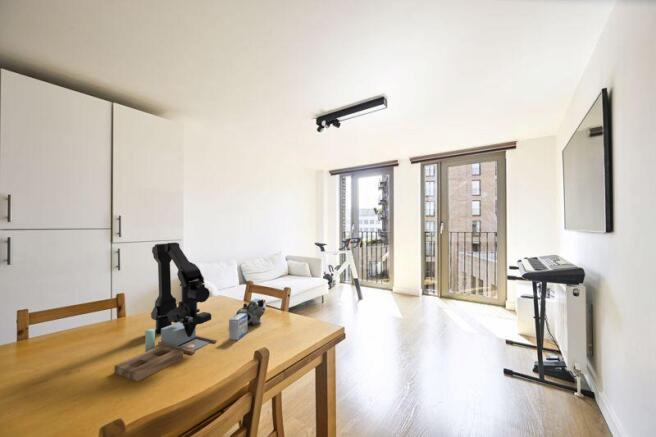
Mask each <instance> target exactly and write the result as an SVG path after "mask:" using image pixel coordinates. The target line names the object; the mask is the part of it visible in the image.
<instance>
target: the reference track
mask: <svg viewBox="0 0 656 437" xmlns="http://www.w3.org/2000/svg"><path fill="white" fill-rule="evenodd" d="M210 343H214V344H216V343H217V339H215V338H210V337H206V336H202V335H197V334H196V337H195V338H194V339H192V340H189V341H187V342H185V343H183V344H181V345H178V346H175V345H171V344H167V343H163V342H161V341H158V342H157V346H161V345H163V346H166V347H170V348H173V349H177V350H181V351H183V353H186V354H190V355H195V354H196V351H198V350H199V349H201V348H203V347H205V346H207V345H209V344H210Z"/></svg>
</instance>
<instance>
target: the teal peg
mask: <svg viewBox="0 0 656 437" xmlns="http://www.w3.org/2000/svg"><path fill="white" fill-rule="evenodd" d="M155 329H156V328H148V329H146V330H145V333H144V334H145V337H144V338H145V339H144V340H145V341H144V342H145V343H144V345H145V346H144V347H145V349H144V351H145V352H147V351H149V350H151V349H154V348H156V332H155Z"/></svg>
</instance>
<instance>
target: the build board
mask: <svg viewBox="0 0 656 437" xmlns="http://www.w3.org/2000/svg"><path fill="white" fill-rule="evenodd" d="M182 359H184V352H183V351H181V350H177V349H173V348H170V347H166V346H163V345H161V346H160V345H157V346H155V348H154V349H151V350H149V351H147V352H143V353H140V354H138V355H136V356H133V357H130V358H129V359H126V360H124V361H121V362H119V363H117V364H115V365H114V369H113V370H114V374H116V375H119V376H121V377H124V378H127V379H129V380H132V381H134V382H140V381H142V380H144V379H145V378H147V377H148V376H151V375H153V374H154V373H156V372H158V371H160V370H163V369H164V368H167V367H169V366H171V365H172V364H174V363H177V362H179V361H181V360H182Z"/></svg>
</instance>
